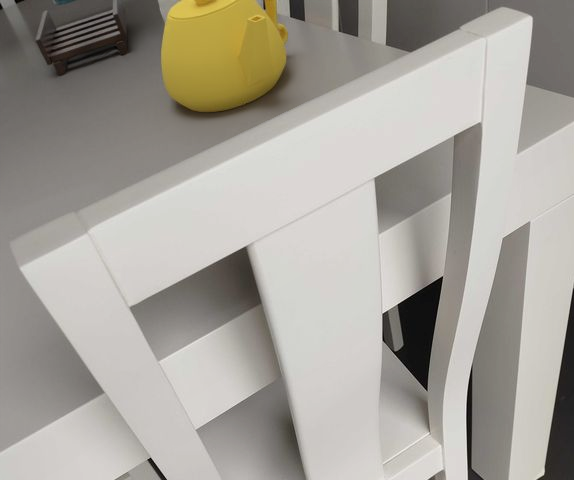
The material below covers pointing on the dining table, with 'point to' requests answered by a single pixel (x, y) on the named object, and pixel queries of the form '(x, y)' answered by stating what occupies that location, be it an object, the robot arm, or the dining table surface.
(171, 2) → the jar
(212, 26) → the teapot
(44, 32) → the rack
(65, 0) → the cup
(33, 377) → the dining table surface
